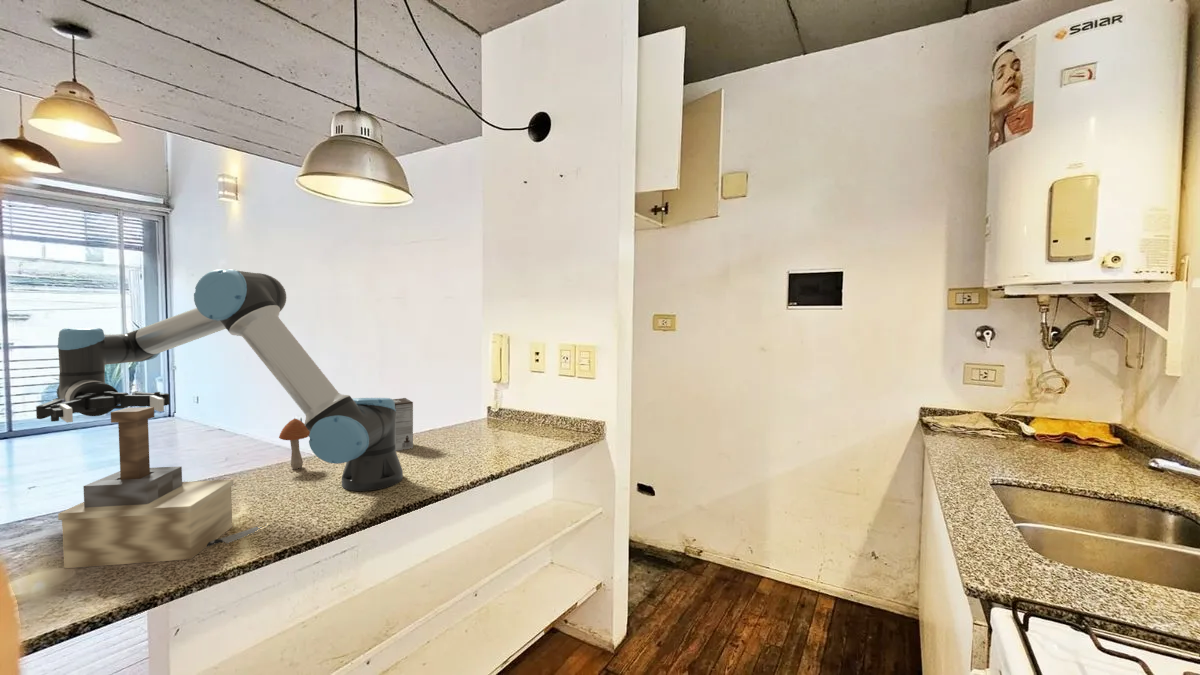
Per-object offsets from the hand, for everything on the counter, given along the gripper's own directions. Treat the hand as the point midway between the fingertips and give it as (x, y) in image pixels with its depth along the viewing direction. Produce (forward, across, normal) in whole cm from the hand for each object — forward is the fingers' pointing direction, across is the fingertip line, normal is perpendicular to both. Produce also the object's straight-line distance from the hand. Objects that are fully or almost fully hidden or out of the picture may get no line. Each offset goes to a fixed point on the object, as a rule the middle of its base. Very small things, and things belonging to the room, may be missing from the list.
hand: (118, 410), depth 100 cm
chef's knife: (+21, -13, -26) cm, 36 cm away
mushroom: (-16, -41, -26) cm, 51 cm away
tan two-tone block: (+12, -2, -26) cm, 29 cm away
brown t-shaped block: (+10, 0, -16) cm, 19 cm away
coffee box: (-12, -72, -26) cm, 78 cm away
